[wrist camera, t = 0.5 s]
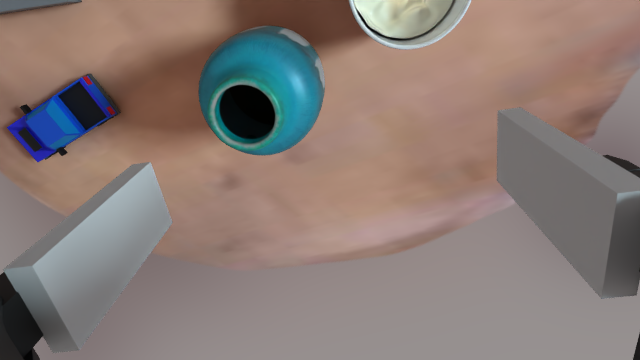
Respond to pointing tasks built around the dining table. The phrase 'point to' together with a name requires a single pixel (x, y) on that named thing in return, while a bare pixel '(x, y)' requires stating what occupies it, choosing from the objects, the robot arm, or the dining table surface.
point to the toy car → (63, 118)
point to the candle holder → (408, 20)
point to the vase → (262, 90)
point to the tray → (30, 4)
